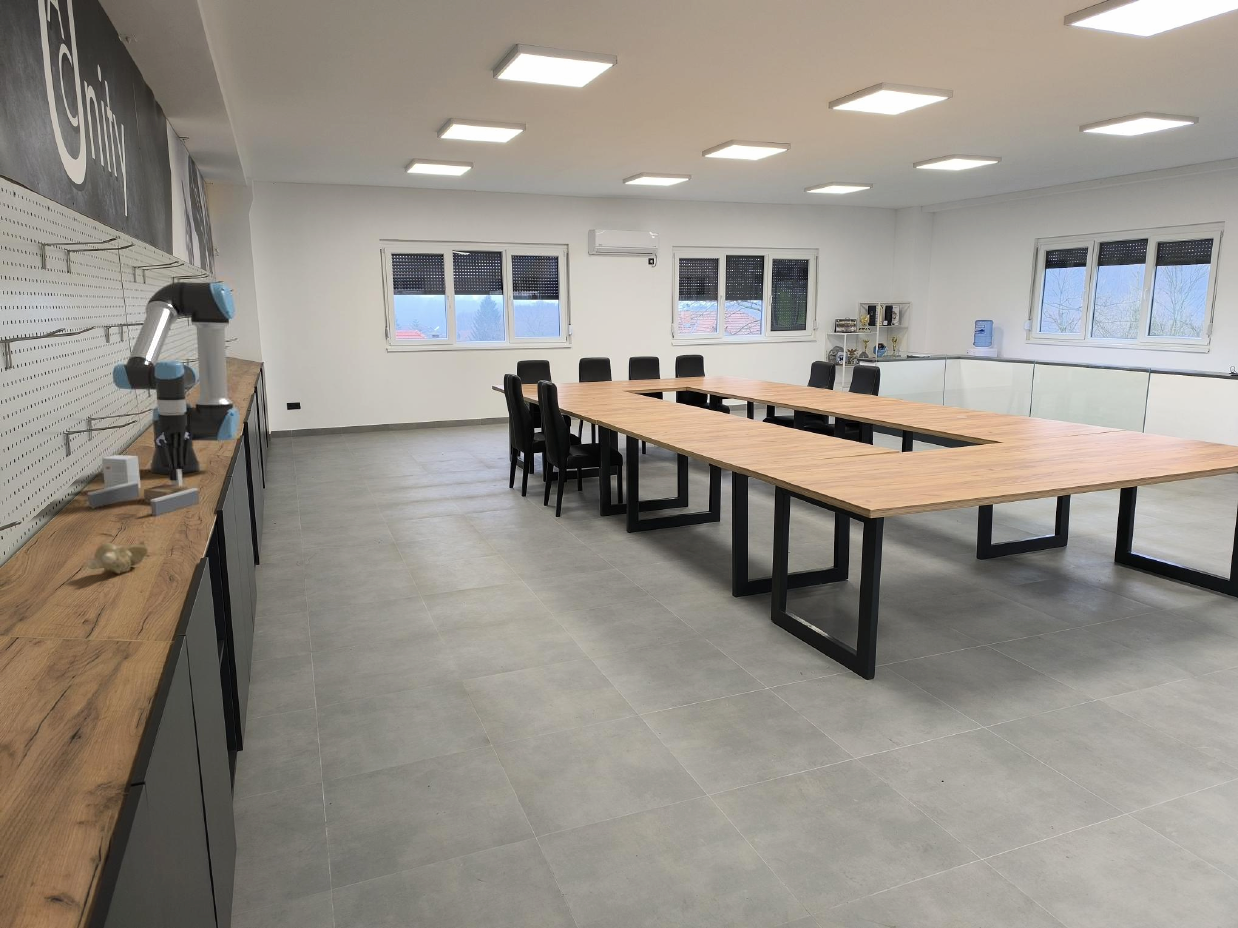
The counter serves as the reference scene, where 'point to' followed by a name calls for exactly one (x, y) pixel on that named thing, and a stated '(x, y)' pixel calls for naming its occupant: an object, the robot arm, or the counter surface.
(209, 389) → the robot arm
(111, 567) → the beige lumpy piece
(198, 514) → the counter surface
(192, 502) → the corridor walls
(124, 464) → the small box
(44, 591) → the counter surface
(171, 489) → the walnut block
